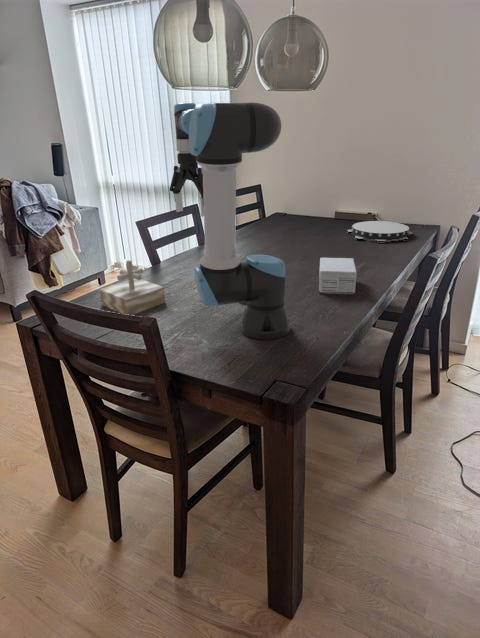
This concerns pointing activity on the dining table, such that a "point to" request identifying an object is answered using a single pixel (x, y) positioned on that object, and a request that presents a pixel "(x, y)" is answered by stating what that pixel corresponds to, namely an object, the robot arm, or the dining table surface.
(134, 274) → the pipe connector
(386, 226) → the tambourine
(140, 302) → the stand
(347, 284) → the supplement box
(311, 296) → the dining table surface
